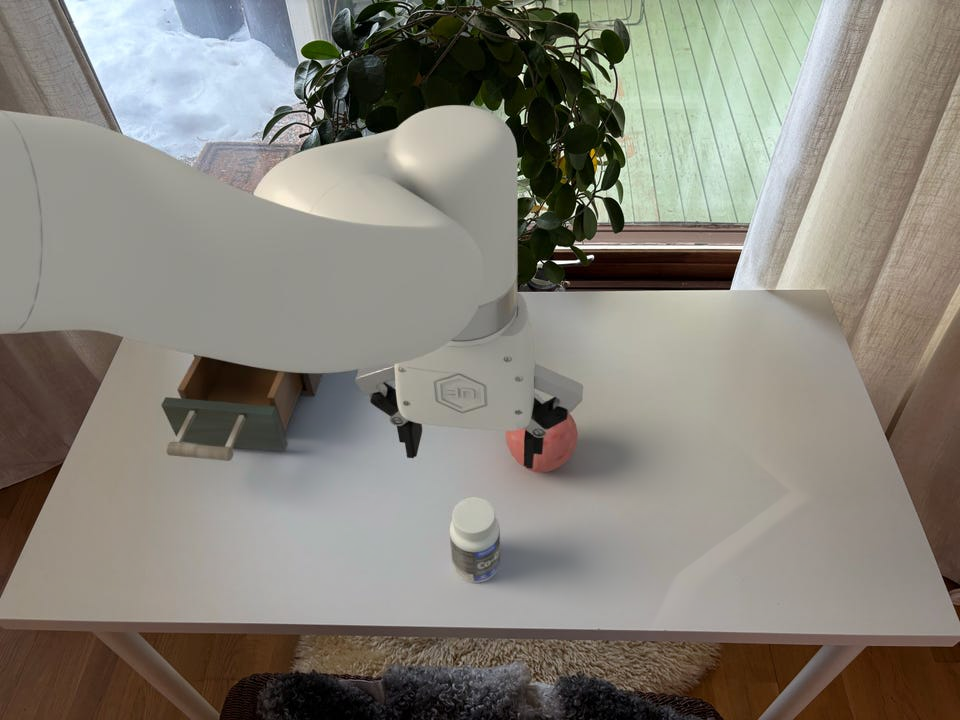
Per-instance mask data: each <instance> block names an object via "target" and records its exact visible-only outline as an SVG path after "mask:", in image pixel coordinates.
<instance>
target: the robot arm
mask: <svg viewBox="0 0 960 720" xmlns="http://www.w3.org/2000/svg"><path fill="white" fill-rule="evenodd" d="M518 160H519V159H518V147H517V142H516V138H515V136H514V134H513V132H512V130H511V128H510V127H509V126H508V125H507V122H505V121H504V120H503V119H502V118H501V117H499V116H498V115H496V114H494V113H492V112H490V111H488V110H486V109H482V108H480V107H475V106H470V105H463V104H462V105H461V104H460V105H459V104H458V105H457V104H454V105H453V104H451V105H450V104H449V105H440V106H435V107H431V108H427V109H424V110H421V111H418V112H417V113H414V114H413V115H411V116H409V117H408V118H407V119H405V120H404V121H403V122H401V123H400V124H399V125H398V127H396V128H394V129H390V130H386V131H382V132H380V133H375V134H372V135H367V136H362V137H357V138H352V139H348V140H343V141H338V142H333V143H329V144H324V145H323V144H322V145H320V146H319V145H318V146H316V147H311V148H308V149H306V150H302V151H300V152H299V151H298V152H297V153H295V154H292V155H291V156H289V157H287V158H285V159H282V160H281V161H280V162H278V163H277V164H276V165H274V166H273V167H272V168H270V169H269V171H268V172H267V173H266V174H265V175H264V176H263V177H262V178H261V180H260V181H259V182H258V184H257V186H256V188H255V190H254V192H253V194H252V193H250V192H248V191H245V190H243V189H240V188H238V187H236V186H233V185H231V184H229V183H227V182H225V181H222V180H220V179H218V178H216V177H214V176H212V175H209V174H208V173H206V172H204V171H202V170H199V169H198V168H197V167H194V166H192V165H190V164H188V163H186V162H184V161H182V160H180V159H178V158H176V157H174V156H172V155H170V154H169V153H166V152H164V151H162V150H161V149H159V148H156V147H154V146H153V145H150V144H148V143H146V142H143V141H141V140H138V139H135V138H133V137H131V136H128V135H126V134H123V133H120V132H117V131H115V130H112V129H109V128H106V127H104V126H100V125H97V124H96V123H91V122H88V121H84V120H81V119H76V118H75V119H74V118H67V117H59V116H50V115H41V114H33V113H26V112H20V111H19V112H17V111H9V110H3V109H0V335H5V334H8V335H9V334H12V335H13V334H26V333H40V332H55V331H56V332H57V331H59V332H60V331H95V332H102V333H108V334H110V335H113V336H114V335H115V336H118V337H121V338H125V339H129V340H130V341H131V340H132V341H135V342H138V343H141V344H144V345H149V346H153V347H157V348H161V349H165V350H170V351H174V352H179V353H183V354H189V355H193V356H194V355H198V356H204V357H209V358H214V359H218V360H223V361H227V362H232V363H237V364H242V365H247V366H252V367H258V368H264V369H270V370H276V371H286V372H295V373H323V374H333V373H343V372H344V373H345V372H351V371H357V372H356V375H355V378H354V383H355V384H356V385H357V387H358V388H359V389H360V390H361V391H362V392H363V393H364V394H365V396H367V397H369V398H370V399H369V401H370V404H371V405H372V406H374V407H376V408H377V409H378V410H380V411H381V412H383V413H384V414H386V415H387V416H389V417H390V418H389V422H390V423H391V425H393V426H395V427H396V428H397V435H398V436H397V437H398V441H399V443H404V447H405V453H406V458H407V459H414V458H416V457H417V456H418V451H419V447H420V444H421V439H422V434H423V425H427V426H436V427H446V428H458V429H459V428H460V429H470V430H485V431H501V432H506V431H514V430H519V429H523V428H524V429H525V436H524V466H526V468H529V469H533V460H534V454H541V455H542V452H543V440H544V436H546V433H547V430H548V429H550V428H552V427H553V426H555V425H557V424H559V423H561V422H563V421H565V420H566V419H567V415H568V414H569V413H570V414H571V413H572V412H573V411H574V410H575V409H576V408H577V407H578V405H580V404H581V403H582V401H583V396H584V385H583V384H582V383H580V382H578V381H576V380H573V379H572V378H569V377H567V376H565V375H562V374H560V373H558V372H556V371H553V370H550V369H548V368H546V367H545V366H541V365H539V364H537V363H536V355H535V354H536V353H535V344H534V343H535V342H534V333H533V328H532V327H533V326H532V323H531V317H530V314H529V310H528V306H527V304H526V301H525V299H524V297H523V295H522V294H521V293H519V292H518V290H519V289H518V288H519V287H518V286H519V285H518V283H519V282H518V279H519V278H518V274H519V272H518V271H519V270H518V264H519V263H518V207H519V205H518V204H519V203H518V200H519V199H518V194H519V192H518V187H519V186H518V185H519V179H518V176H519V175H518V174H519V173H518V172H519V171H518V169H519V165H518V164H519V161H518ZM390 381H394V382H395V387H393V386H392V385H391V384H388V382H390ZM535 390H537V391H540V392H543V393H545V394H547V395H550V396H552V397H551V398H550V399H548V400H544V399H543V398H542V397H540V396H539V394H537V393H536V392H535ZM545 401H546V402H545ZM526 468H525V469H526Z"/></svg>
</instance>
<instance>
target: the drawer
mask: <svg viewBox="0 0 960 720" xmlns="http://www.w3.org/2000/svg"><path fill="white" fill-rule="evenodd" d="M303 385H304V378H303V375H302V373H295V372H286V371H276V370H270V369H264V368H258V367H252V366H247V365H242V364H237V363H232V362H227V361H223V360H218V359H214V358H209V357H204V356H198V355H196V356H195V358H194V357H193V360H192V362H191V363H190V365H189V368H188V369H187V371H186V373H185V374H184V376H183V378H182V380H181V382H180V384H179V386H178V387H177V393H178V394H179V397H167V396H165V398H164V399H163V401H162V403H161V408H162V410H163V412H164V414H165V416H166V418H167V421H168V423H169V425H170V427H171V429H172V431H173V433H174V436H175V439H174V440H173V441H169V442H168V444H167V446H166V454H167V455H168V456H171V457H181V458H193V459H202V460H203V459H204V460H214V461H225V462H231V461H232V459H233V457H234V449H233V448H239V449H240V448H241V449H251V450H262V451H263V450H264V451H274V452H286V449H287V446H288V440H287V437H286V434H285V432H286V430H287V427H288V425H289V423H290V421H291V417H292V415H293V412H294V410H295V407H296V405H297V402H298V399H299V397H300V396H301V395H300V392H301V390H302V387H303Z"/></svg>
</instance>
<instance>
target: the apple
mask: <svg viewBox="0 0 960 720" xmlns="http://www.w3.org/2000/svg"><path fill="white" fill-rule="evenodd" d="M544 401H545V402H546V401H547V400H544ZM578 435H579V433H578V427H577V424H576V421H575V419H574V417H573V415H572V414H571V412H570V413H569V414H568V415H567V419H566V420H565V421H563V422H561V423H559V424H557V425H555V426H553V427H552V428H550V429H548V430H547V433H546V436H544V440H543V452H542V455H541V454H534V460H533V469H529V468H526V466H524V436H525V429H524V428H523V429H519V430H514V431H505V440H506V441H505V442H506V445H507V447H508V449H509V452H510V455H511V456H512V457H513V459H515V461H516V462H517V463H518V464H519V465H521V466H522V467H524V468H525V469H526V470H527V471H532V472H533V473H547V472H550V471H553V470H556V469H558V468H560V467H561V466H563V465H564V464H565V463H566V462H567V461H568V460H570V458H571V457H572V455H573V453H574V452H575V450H576V447H577V443H578V437H579V436H578Z"/></svg>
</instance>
